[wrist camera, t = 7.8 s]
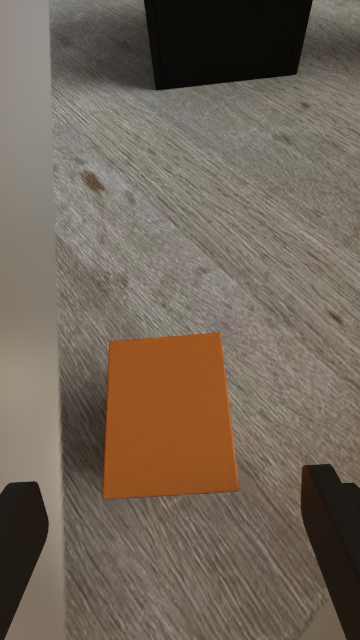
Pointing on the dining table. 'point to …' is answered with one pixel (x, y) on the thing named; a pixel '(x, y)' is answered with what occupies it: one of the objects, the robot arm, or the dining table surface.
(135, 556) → the dining table surface
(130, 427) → the block
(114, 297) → the dining table surface
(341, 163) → the dining table surface
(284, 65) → the bin
